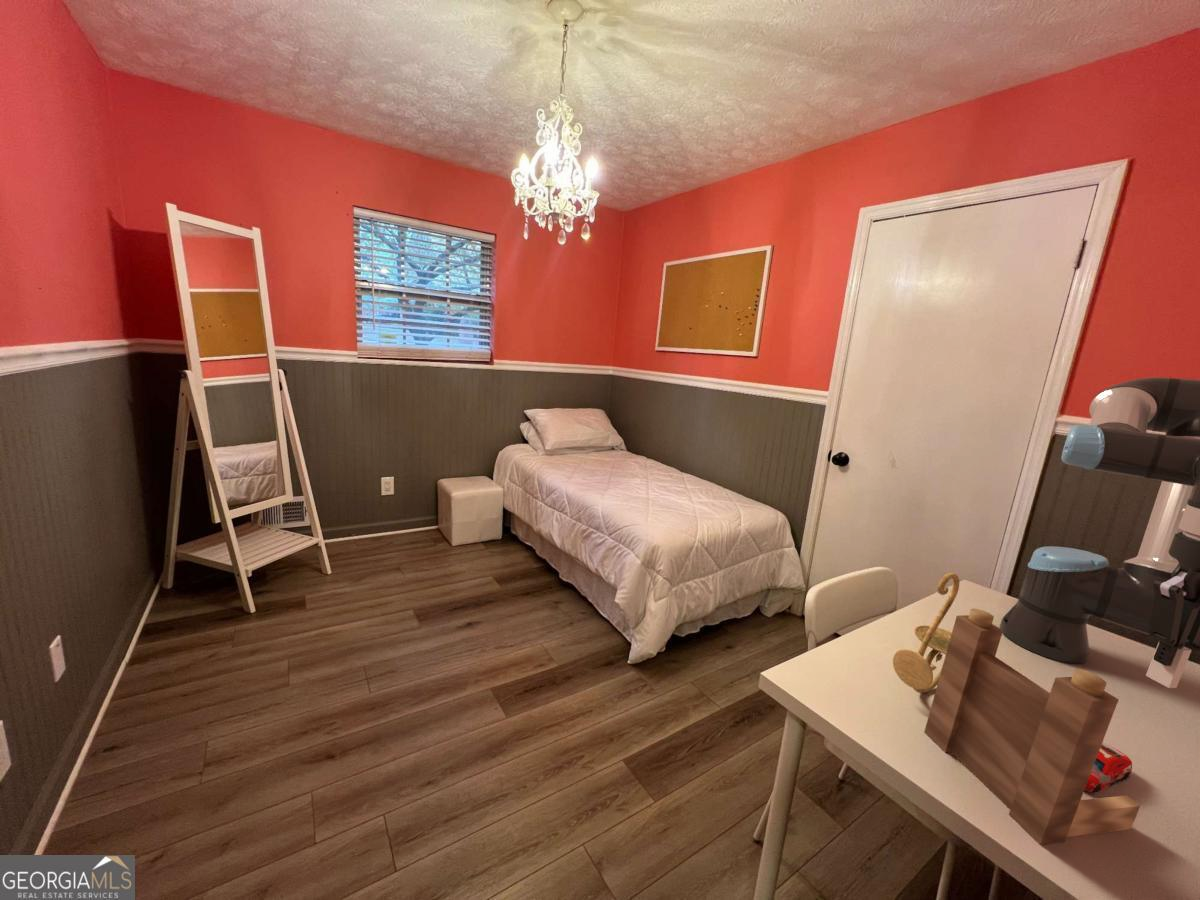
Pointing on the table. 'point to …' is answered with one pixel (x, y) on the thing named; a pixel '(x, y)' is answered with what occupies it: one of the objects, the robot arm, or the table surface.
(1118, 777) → the race car
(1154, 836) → the table surface
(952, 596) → the wall sconce
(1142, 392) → the robot arm
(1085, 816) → the headboard
